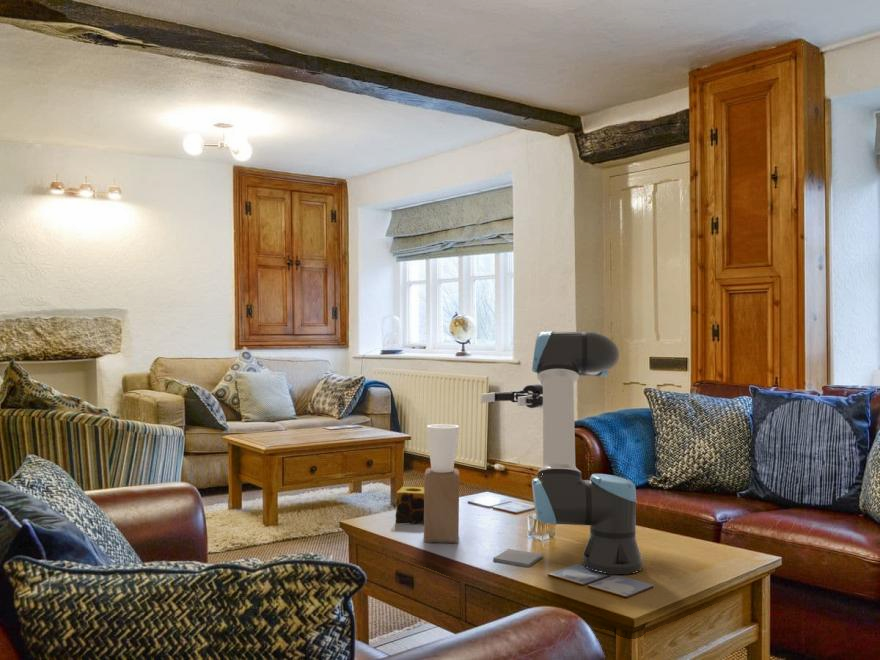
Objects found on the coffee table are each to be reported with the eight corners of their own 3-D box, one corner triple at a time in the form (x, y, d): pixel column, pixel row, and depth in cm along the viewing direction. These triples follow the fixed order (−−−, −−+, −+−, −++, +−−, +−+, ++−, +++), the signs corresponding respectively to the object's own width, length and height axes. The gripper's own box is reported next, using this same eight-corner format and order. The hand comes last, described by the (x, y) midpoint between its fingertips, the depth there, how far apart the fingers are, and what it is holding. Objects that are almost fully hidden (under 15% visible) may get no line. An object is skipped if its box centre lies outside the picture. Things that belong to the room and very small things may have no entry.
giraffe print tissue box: (426, 525, 241) (426, 493, 241) (394, 523, 243) (395, 492, 243) (432, 517, 251) (432, 487, 251) (402, 516, 253) (402, 485, 253)
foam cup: (424, 472, 222) (424, 427, 222) (428, 467, 231) (428, 423, 231) (457, 473, 221) (457, 428, 221) (459, 468, 230) (460, 424, 230)
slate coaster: (542, 557, 209) (542, 554, 209) (528, 567, 200) (528, 563, 200) (508, 551, 214) (508, 548, 214) (493, 561, 205) (493, 558, 205)
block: (458, 543, 221) (459, 474, 221) (423, 543, 221) (424, 473, 221) (458, 534, 231) (459, 467, 231) (424, 534, 231) (425, 467, 231)
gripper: (570, 410, 243) (534, 415, 227) (504, 404, 259) (466, 409, 242) (570, 386, 243) (535, 390, 227) (505, 382, 259) (467, 385, 242)
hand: (499, 400), depth 235 cm, fingers open, 13 cm apart
